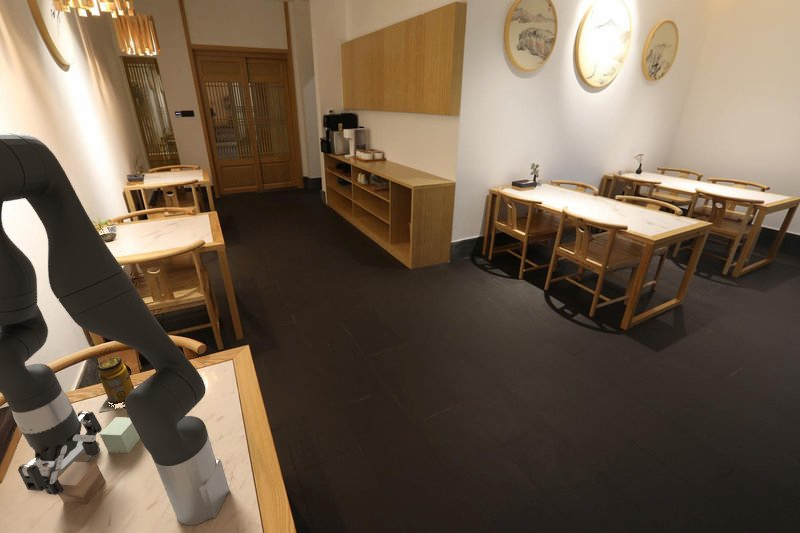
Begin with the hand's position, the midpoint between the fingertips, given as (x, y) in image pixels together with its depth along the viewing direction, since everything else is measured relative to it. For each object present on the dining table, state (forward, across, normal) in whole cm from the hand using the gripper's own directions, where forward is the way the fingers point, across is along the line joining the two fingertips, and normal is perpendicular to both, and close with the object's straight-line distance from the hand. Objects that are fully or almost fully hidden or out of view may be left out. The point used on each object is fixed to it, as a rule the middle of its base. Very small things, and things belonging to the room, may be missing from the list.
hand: (76, 472), depth 76 cm
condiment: (+6, +25, +12) cm, 28 cm away
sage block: (+5, +11, 0) cm, 13 cm away
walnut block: (+5, -1, -1) cm, 5 cm away
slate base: (+6, +6, +9) cm, 12 cm away
